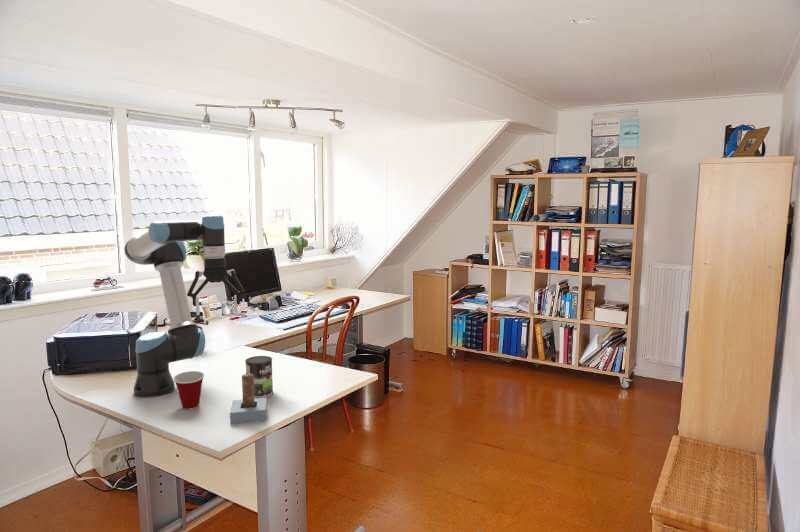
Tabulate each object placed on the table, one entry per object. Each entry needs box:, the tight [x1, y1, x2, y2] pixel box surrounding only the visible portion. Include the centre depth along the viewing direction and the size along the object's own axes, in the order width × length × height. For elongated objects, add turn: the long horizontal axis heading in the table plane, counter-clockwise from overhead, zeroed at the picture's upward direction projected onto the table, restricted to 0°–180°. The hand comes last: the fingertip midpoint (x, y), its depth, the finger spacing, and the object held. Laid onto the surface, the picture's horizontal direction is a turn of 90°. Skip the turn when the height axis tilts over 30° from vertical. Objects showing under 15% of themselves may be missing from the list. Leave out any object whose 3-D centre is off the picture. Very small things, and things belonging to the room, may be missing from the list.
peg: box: [241, 373, 255, 408], centre depth 190 cm, size 4×4×15 cm
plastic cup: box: [172, 370, 205, 410], centre depth 199 cm, size 11×11×12 cm
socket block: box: [229, 397, 268, 425], centre depth 191 cm, size 12×12×4 cm
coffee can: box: [244, 355, 274, 398], centre depth 212 cm, size 10×10×14 cm
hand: (217, 313), depth 199 cm, fingers open, 13 cm apart
